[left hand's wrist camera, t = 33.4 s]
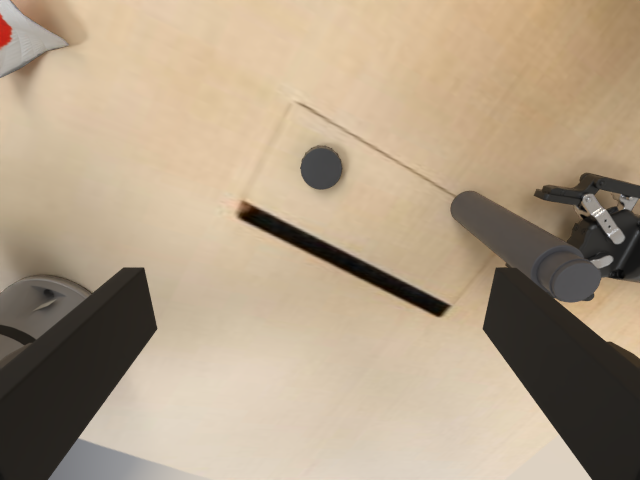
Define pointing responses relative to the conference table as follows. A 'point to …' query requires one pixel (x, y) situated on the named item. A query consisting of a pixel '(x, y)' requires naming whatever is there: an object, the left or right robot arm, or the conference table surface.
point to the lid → (321, 167)
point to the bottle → (528, 248)
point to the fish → (22, 39)
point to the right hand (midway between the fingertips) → (523, 231)
